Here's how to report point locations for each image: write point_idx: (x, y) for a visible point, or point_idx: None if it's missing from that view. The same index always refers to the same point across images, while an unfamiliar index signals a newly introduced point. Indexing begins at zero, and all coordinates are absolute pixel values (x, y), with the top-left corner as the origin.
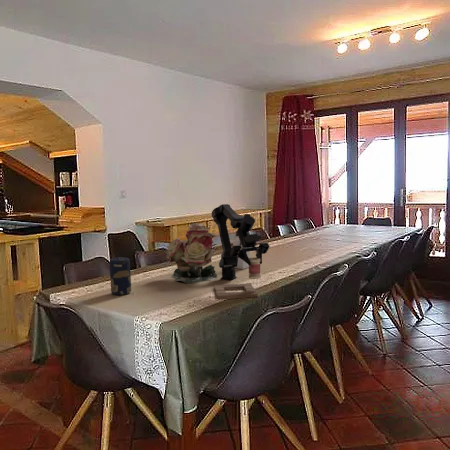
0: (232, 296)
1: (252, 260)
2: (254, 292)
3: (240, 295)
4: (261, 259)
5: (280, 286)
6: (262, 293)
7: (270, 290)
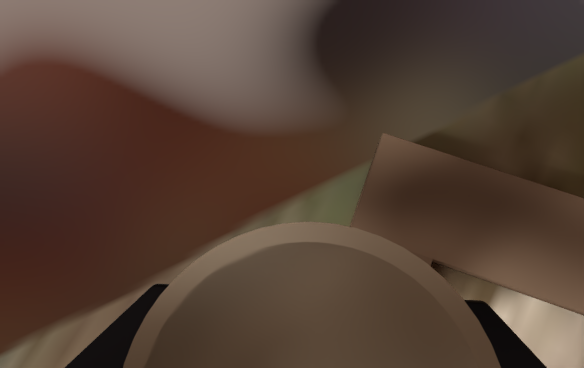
0: None
1: (442, 285)
2: (389, 182)
3: (537, 187)
4: (107, 341)
5: (5, 354)
6: (285, 219)
7: (168, 273)
